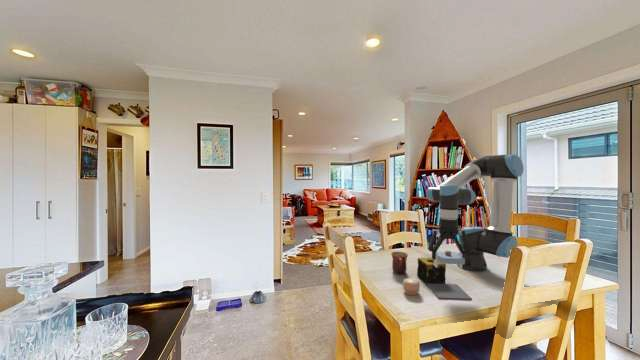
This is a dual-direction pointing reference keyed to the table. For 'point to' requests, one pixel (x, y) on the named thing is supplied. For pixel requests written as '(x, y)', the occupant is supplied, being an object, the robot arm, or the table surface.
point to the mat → (448, 291)
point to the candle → (431, 271)
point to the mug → (399, 262)
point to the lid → (450, 258)
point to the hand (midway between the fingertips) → (447, 266)
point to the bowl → (411, 286)
